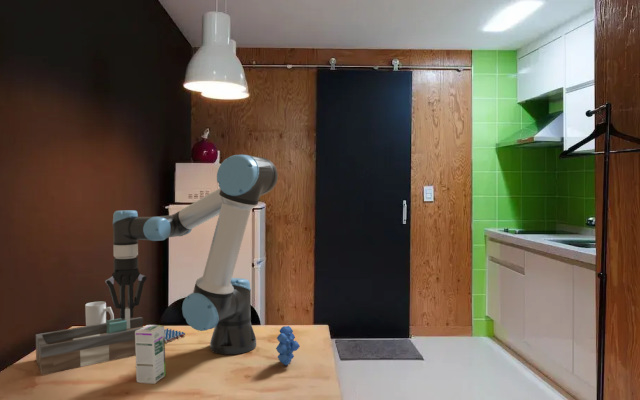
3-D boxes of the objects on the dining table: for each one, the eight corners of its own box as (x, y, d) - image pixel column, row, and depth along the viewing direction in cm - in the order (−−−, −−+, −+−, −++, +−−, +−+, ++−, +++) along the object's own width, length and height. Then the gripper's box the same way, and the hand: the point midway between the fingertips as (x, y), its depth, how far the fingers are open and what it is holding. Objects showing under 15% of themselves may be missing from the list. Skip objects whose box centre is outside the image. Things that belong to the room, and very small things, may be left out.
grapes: (294, 373, 131) (293, 331, 131) (271, 371, 133) (271, 330, 133) (305, 359, 143) (304, 320, 142) (284, 357, 144) (284, 319, 144)
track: (155, 350, 151) (154, 326, 151) (41, 375, 132) (41, 347, 132) (141, 339, 163) (141, 316, 163) (36, 359, 144) (35, 334, 144)
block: (126, 336, 150) (126, 321, 150) (110, 339, 148) (110, 324, 147) (123, 332, 155) (122, 318, 154) (106, 335, 152) (106, 320, 151)
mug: (81, 339, 164) (81, 305, 163) (92, 333, 170) (92, 301, 170) (108, 340, 163) (108, 306, 163) (118, 334, 170) (118, 301, 169)
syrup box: (155, 384, 125) (154, 331, 125) (135, 382, 126) (134, 330, 126) (166, 376, 130) (165, 325, 130) (147, 374, 132) (146, 324, 131)
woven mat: (142, 341, 163) (142, 335, 163) (167, 333, 172) (166, 327, 172) (162, 346, 157) (162, 340, 157) (186, 337, 166) (186, 332, 166)
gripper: (143, 254, 159) (143, 321, 160) (102, 257, 152) (103, 328, 152) (149, 256, 153) (150, 327, 154) (107, 260, 146) (108, 334, 146)
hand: (126, 327), depth 153 cm, fingers closed
